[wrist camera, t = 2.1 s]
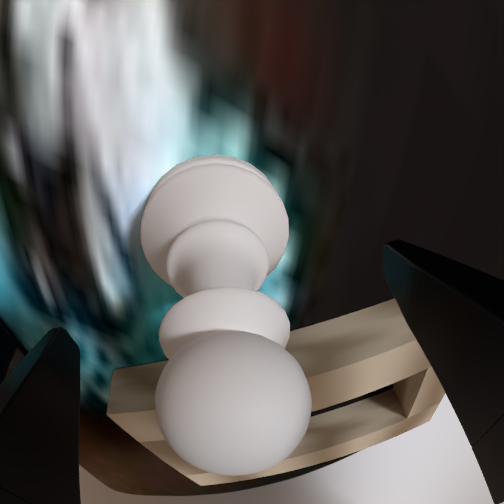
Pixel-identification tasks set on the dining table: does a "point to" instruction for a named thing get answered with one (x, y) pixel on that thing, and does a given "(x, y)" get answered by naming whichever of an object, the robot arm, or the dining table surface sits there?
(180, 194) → the chess pawn
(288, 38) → the dining table surface
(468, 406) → the robot arm
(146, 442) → the wooden rectangular frame
